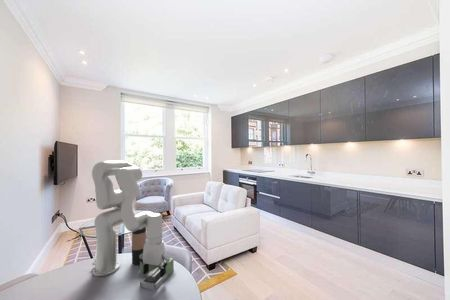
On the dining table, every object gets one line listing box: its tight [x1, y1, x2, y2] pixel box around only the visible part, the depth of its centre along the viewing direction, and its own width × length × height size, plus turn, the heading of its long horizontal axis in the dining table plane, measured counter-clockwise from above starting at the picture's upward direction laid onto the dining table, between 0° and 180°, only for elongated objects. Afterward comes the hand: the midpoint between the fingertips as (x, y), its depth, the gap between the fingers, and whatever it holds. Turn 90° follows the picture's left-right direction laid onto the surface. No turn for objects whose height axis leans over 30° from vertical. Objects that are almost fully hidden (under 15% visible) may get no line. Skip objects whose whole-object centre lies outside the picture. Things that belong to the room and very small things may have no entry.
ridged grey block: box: [145, 267, 161, 284], centre depth 93 cm, size 4×7×5 cm, turn 167°
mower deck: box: [139, 257, 174, 291], centre depth 97 cm, size 16×16×9 cm
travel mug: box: [131, 227, 146, 266], centre depth 111 cm, size 8×8×20 cm
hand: (154, 274), depth 93 cm, fingers open, 9 cm apart
